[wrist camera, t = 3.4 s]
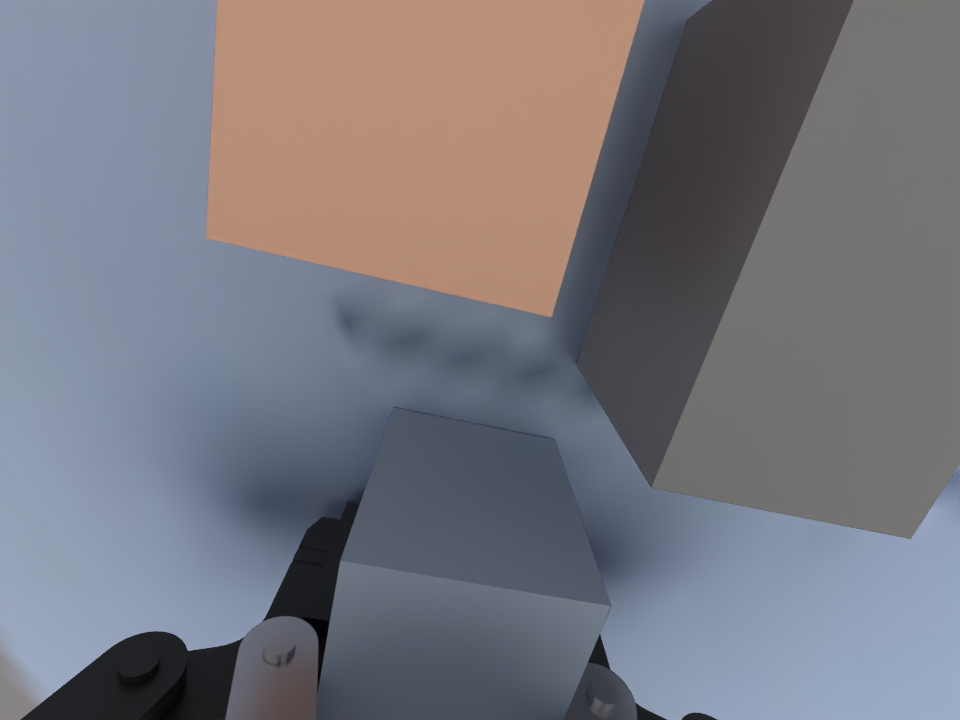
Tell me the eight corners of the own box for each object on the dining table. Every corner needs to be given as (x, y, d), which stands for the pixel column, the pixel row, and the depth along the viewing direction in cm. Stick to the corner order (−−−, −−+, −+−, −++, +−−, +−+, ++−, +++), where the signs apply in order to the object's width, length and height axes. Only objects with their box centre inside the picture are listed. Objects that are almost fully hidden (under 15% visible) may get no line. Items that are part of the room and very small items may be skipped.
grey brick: (684, 22, 9) (922, -163, 4) (874, 78, 9) (1281, -33, 5) (574, 362, 11) (651, 487, 7) (731, 397, 12) (910, 538, 7)
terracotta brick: (385, -223, 8) (257, -855, 3) (618, -145, 8) (821, -599, 3) (329, 215, 10) (206, 239, 5) (514, 259, 10) (551, 317, 6)
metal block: (393, 407, 11) (340, 560, 7) (554, 439, 12) (611, 606, 7) (351, 625, 14) (289, 853, 9) (487, 646, 14) (496, 875, 9)
